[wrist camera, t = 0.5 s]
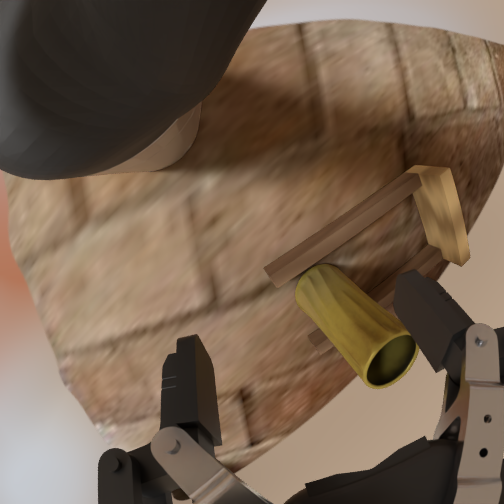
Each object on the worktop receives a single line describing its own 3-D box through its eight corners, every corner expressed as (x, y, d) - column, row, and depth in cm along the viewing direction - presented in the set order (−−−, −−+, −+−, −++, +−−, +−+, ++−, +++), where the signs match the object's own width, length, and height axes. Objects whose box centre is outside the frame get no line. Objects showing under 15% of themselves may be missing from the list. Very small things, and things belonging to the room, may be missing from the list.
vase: (346, 261, 32) (432, 318, 18) (341, 310, 33) (412, 381, 20) (295, 265, 30) (367, 336, 17) (293, 317, 32) (351, 402, 19)
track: (263, 267, 30) (279, 291, 24) (414, 165, 30) (449, 167, 24) (312, 343, 34) (332, 373, 28) (439, 244, 34) (470, 257, 28)
